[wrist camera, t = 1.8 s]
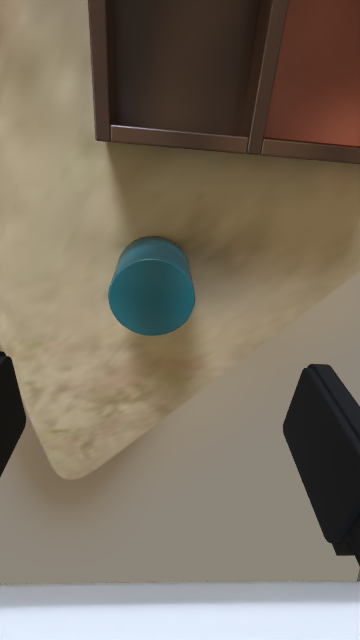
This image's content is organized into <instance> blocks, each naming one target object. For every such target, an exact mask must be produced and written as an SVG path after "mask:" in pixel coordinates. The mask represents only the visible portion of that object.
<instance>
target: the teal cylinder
mask: <svg viewBox="0 0 360 640" xmlns="http://www.w3.org/2000/svg"><path fill="white" fill-rule="evenodd" d="M108 298H109V304H110V308H111V310H112V312H113V314H114V316H115V317H116V319H117V320H118V321H119V322H120V323H121V324H122V325H123V326H125V327H126V328H128V329H129V330H131V331H133V332H136V333H139V334H143V335H162V334H166V333H169V332H172V331H174V330H176V329H177V328H179V327H180V326H181V325H182V324H184V323H185V321H186V320H187V319H188V318H189V316H190V315H191V313H192V310H193V308H194V303H195V291H194V287H193V282H192V277H191V272H190V268H189V263H188V260H187V258H186V256H185V254H184V252H183V251H182V250H181V249H180V248H179V247H178V246H177V245H176V244H175V243H173V242H172V241H170V240H167V239H165V238H161V237H144V238H140V239H138V240H135V241H134V242H132V243H131V244H129V245H128V246H127V247H126V248H125V249H124V251H123V252H122V253H121V255H120V257H119V260H118V263H117V266H116V269H115V272H114V275H113V278H112V281H111V284H110V287H109V295H108Z"/></svg>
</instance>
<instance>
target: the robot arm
mask: <svg viewBox="0 0 360 640" xmlns="http://www.w3.org/2000/svg"><path fill="white" fill-rule="evenodd" d="M25 423H26V415H25V412H24V407H23V403H22V399H21V395H20V391H19V387H18V383H17V379H16V375H15V371H14V367H13V363H12V359H11V358H10V357H9V356H6V354H5V353H4V352H1V351H0V477H1V474H2V473H3V471H4V468H5V466H6V464H7V462H8V460H9V458H10V456H11V454H12V452H13V450H14V448H15V446H16V444H17V442H18V440H19V438H20V436H21V434H22V432H23V430H24V428H25ZM283 432H284V436H285V439H286V441H287V443H288V446H289V448H290V451H291V454H292V456H293V459H294V461H295V464H296V466H297V468H298V471H299V474H300V476H301V479H302V482H303V484H304V487H305V489H306V492H307V494H308V497H309V499H310V502H311V504H312V507H313V509H314V512H315V514H316V517H317V519H318V522H319V525H320V527H321V530H322V532H323V534H324V537H325V539H326V540H327V541H328V542H329V543H332V545H333V547H334V550H335V552H336V555H337V556H339V555H341V556H342V555H343V556H345V555H346V556H347V555H355V557H356V559H357V561H358V563H359V566H360V406H359V405H358V404H357V402H356V401H355V399H354V398H353V397H352V395H351V394H350V392H349V391H348V390H347V388H346V387H345V386H344V384H343V383H342V382H341V380H340V379H339V377H338V376H337V374H336V373H335V372H334V370H333V369H332V367H331V366H329V365H324V364H310V365H309V366H308V367H307V368H304V369H303V371H302V373H301V376H300V379H299V381H298V385H297V387H296V390H295V393H294V395H293V398H292V401H291V404H290V407H289V410H288V412H287V415H286V418H285V421H284V424H283ZM0 640H360V570H359V575H358V579H357V581H213V582H212V581H210V582H209V581H206V582H124V583H123V582H119V583H117V582H115V583H55V584H54V583H52V584H50V583H49V584H0Z"/></svg>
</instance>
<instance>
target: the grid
mask: <svg viewBox="0 0 360 640" xmlns="http://www.w3.org/2000/svg"><path fill="white" fill-rule="evenodd" d="M88 10H89V28H90V46H91V65H92V83H93V102H94V120H95V139H96V140H97V141H104V142H116V143H127V144H138V145H150V146H161V147H172V148H184V149H195V150H207V151H218V152H229V153H241V154H252V155H263V156H275V157H286V158H297V159H309V160H320V161H331V162H343V163H354V164H360V0H88Z"/></svg>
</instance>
